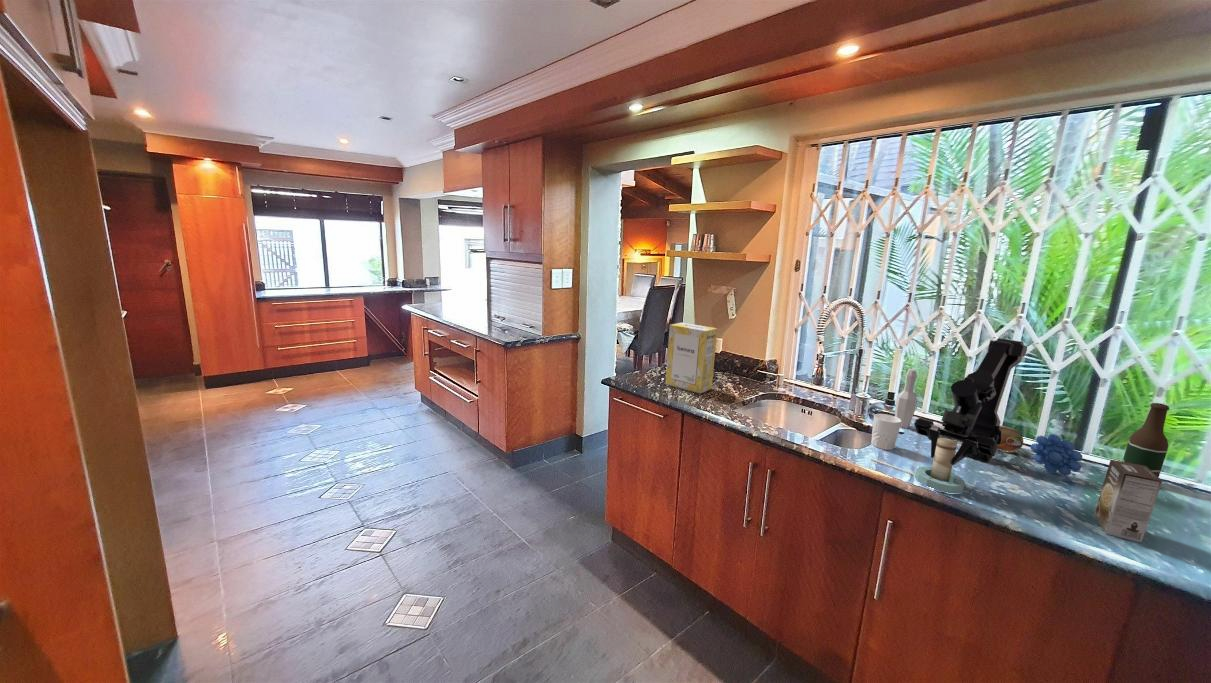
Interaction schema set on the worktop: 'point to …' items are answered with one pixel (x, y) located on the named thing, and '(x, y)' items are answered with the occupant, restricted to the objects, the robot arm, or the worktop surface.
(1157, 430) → the beer bottle
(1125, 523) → the coffee box
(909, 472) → the thin beige stick
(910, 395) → the faceted bottle
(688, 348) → the pasta box
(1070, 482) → the worktop surface
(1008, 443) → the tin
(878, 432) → the white cup
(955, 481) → the green ring
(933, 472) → the wooden pepper mill
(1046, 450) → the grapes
